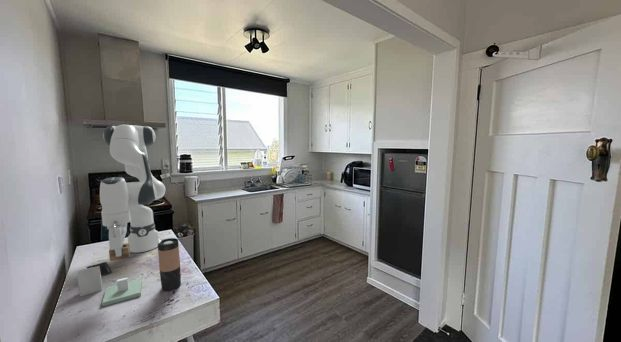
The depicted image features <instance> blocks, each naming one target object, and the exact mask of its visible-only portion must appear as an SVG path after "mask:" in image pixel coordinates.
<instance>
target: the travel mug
mask: <svg viewBox="0 0 621 342" xmlns="http://www.w3.org/2000/svg"><path fill="white" fill-rule="evenodd" d="M157 251H158V252H157V253H158V266H159V267H158V268H159V277H160V278H159V279H160V284H161V290H162V292H171V291H175V290H177V289H179V288H180V287H181V284H182V283H181V281H182V280H181V279H182V277H181V274H182V273H181V259H180V258H181V257H180V247H179V239H178V238H174V237H173V238H172V237H171V238H170V237H169V238H166V239H165V238H164V239H162V240H161V242H160V243H158V247H157Z"/></svg>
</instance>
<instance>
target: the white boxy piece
mask: <svg viewBox="0 0 621 342" xmlns="http://www.w3.org/2000/svg"><path fill="white" fill-rule="evenodd" d="M77 281H78V282H77V283H78V284H77V285H78V289H79V297H83V296H88V295H90V294H94V293H98V292H100V291H103V281H102V277H101V272H100V266H97V267H92V268H88V269H87V268H84V269H81V270H77Z"/></svg>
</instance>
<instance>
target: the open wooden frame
mask: <svg viewBox="0 0 621 342" xmlns="http://www.w3.org/2000/svg"><path fill="white" fill-rule="evenodd" d="M121 250H122V255H121V256H118V257H116V253H115V250H110V249H108V255H109V262H112V261H118V260H123V259H128V258H130V255H131V252H130V245H129V243H128V242H127V243H123V246H122V248H121Z"/></svg>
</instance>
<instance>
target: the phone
mask: <svg viewBox="0 0 621 342" xmlns="http://www.w3.org/2000/svg"><path fill="white" fill-rule="evenodd" d="M97 266H100V272H101V278H102V277H105V276H108V275H111V274H112V270H111V268H110V266H109V263H108V262H107V261H103V262H100V263H97V264H92V265H89V266H86V269H88V268H92V267H97Z"/></svg>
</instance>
